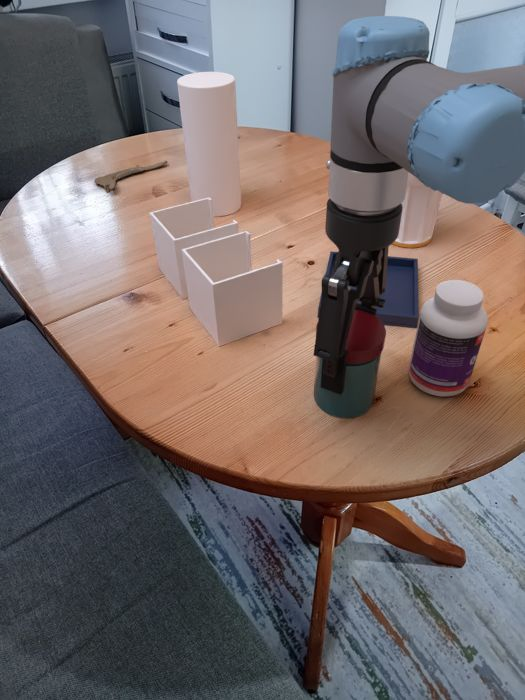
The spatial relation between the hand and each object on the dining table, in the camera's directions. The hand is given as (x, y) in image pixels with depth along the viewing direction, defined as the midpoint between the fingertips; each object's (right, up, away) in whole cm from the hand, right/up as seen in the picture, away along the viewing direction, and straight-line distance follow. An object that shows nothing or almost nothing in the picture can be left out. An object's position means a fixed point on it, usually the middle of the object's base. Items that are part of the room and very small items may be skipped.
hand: (346, 367), depth 68 cm
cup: (+17, +24, +35) cm, 46 cm away
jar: (0, -4, +3) cm, 5 cm away
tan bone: (-40, +42, +58) cm, 82 cm away
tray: (+7, +12, +22) cm, 26 cm away
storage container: (-18, +11, +22) cm, 31 cm away
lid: (0, +4, -4) cm, 6 cm away
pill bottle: (+13, -2, +5) cm, 14 cm away
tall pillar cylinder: (-21, +33, +47) cm, 61 cm away
